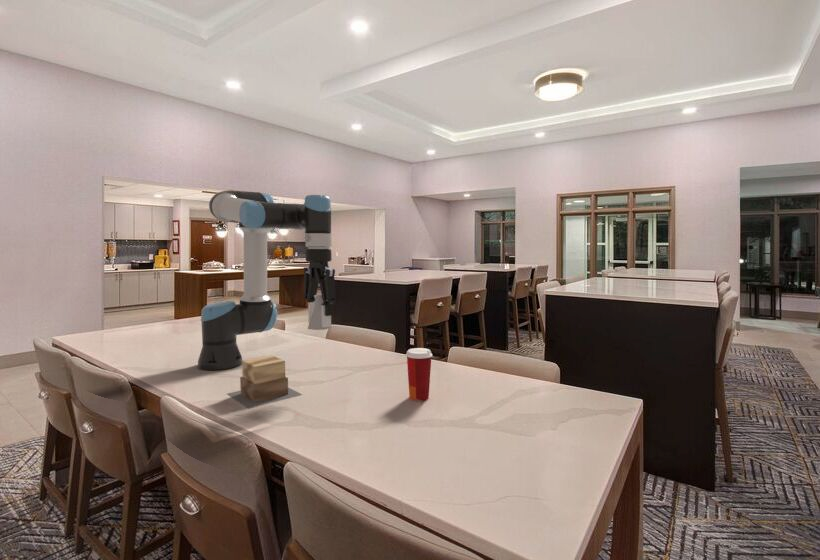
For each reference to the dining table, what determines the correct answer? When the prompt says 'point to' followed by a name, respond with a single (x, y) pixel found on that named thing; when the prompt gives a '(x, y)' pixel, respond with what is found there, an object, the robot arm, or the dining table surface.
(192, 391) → the dining table surface
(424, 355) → the paper cup
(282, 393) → the walnut block
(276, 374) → the oak block
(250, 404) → the grey mat
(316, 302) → the flask
